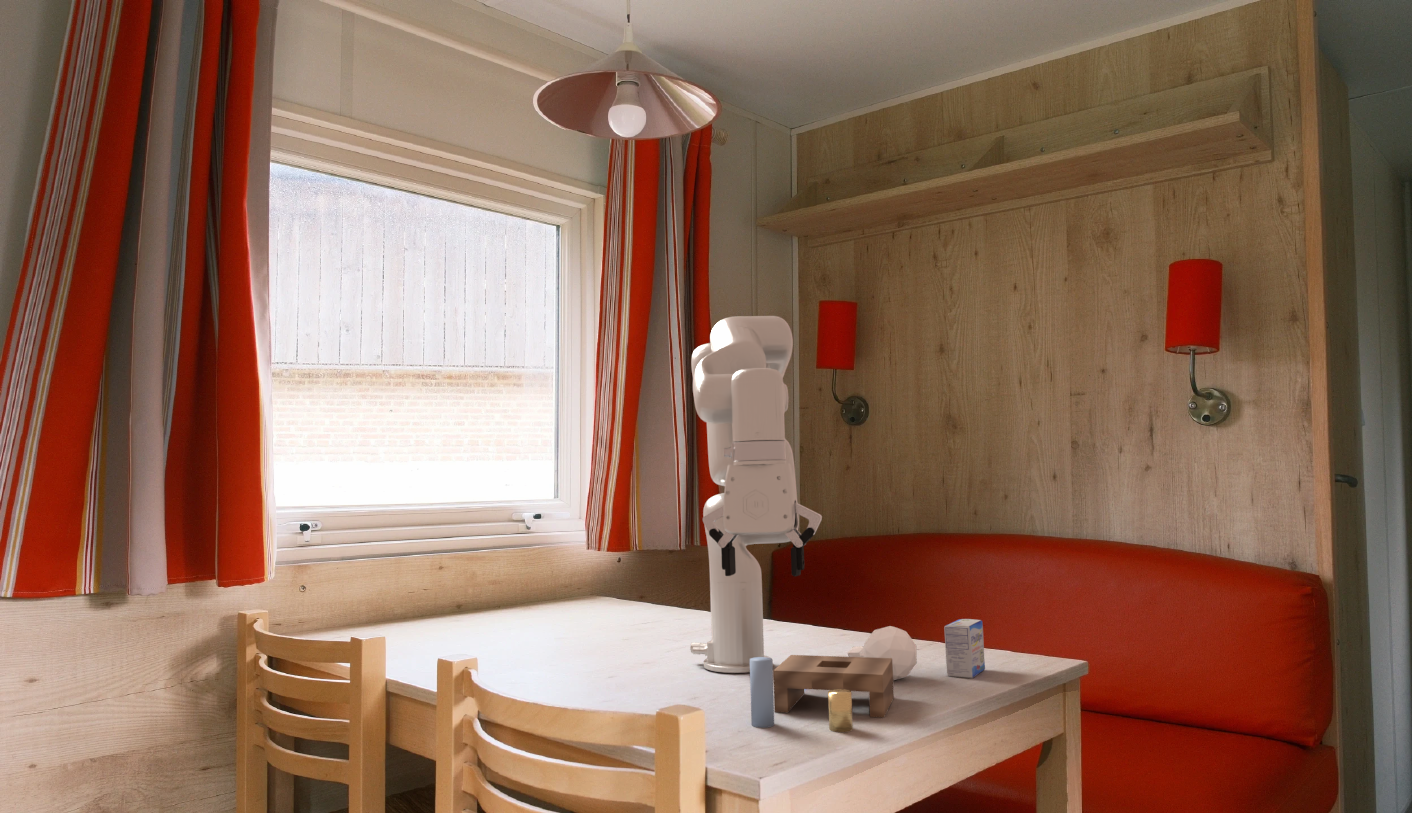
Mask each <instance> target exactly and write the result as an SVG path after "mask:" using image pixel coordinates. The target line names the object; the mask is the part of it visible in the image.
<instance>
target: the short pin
mask: <svg viewBox="0 0 1412 813" xmlns="http://www.w3.org/2000/svg"><path fill="white" fill-rule="evenodd" d="M852 695H853V694H852V691H850V690H845V689H834V690H827V696H828V697H827V703H828V706H827V708H828V728H829V731H830V732H834V733H848V732H852V731H853V729H854V727H853V726H854V725H853V720H854V719H853V700H852Z"/></svg>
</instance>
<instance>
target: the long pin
mask: <svg viewBox="0 0 1412 813" xmlns="http://www.w3.org/2000/svg"><path fill="white" fill-rule="evenodd" d="M772 660H773V658H772V657H770V658H769V656H768V657H755V658H751V659H750V672H749V685H750V686H749V687H750V718H751V719H750V721H751V723H750V724H751V726H752V727H754V728H760V729H762V728H771V727H774V726H775V709H774V677H773V670H774V667H773V666H774V664H773V665H772Z"/></svg>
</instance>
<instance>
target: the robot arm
mask: <svg viewBox="0 0 1412 813" xmlns="http://www.w3.org/2000/svg"><path fill="white" fill-rule="evenodd" d="M793 345H794V340H793V332H792V330H791V327H790V326H789V323H788V322H787V321H786V320H785V319H784V318H782V317H781V316H777V315H754V316H752V315H748V316H746V315H741V316H737V315H736V316H729V317H725V318H723V319H720V320H719V321H718V322H716V324H715V325H714V326H713V327H712V329H711V332H710V334H709V342H708V343H707V342H706V343H704V344H701V345H699V346H697V347H696V348H695V349H694V350H693V352H692V354H691V363H690V364H691V373H692V393H693V400H694V402H693V403H694V407H695V411H696V414H697V415H698V417H699V418H700V420H702V421H703V422H704V423H706V434H707V455H708V467H709V474H710V478H711V480H712V482H713V483H715V484H716V485H718V486H722V487H724V492H722V493H718V494H715V495H713V496H711V497H710V498H708V499H707V500H706V502H705V503H704V507H703V510H702V512H703V513H702V515H703V517H702V522H703V524H704V530H705V531H704V532H705V535H706V536H705V537H706V542H707V551H708V552H707V553H708V563H709V564H708V565H709V591H710V592H709V593H710V595H709V596H710V630H711V635H710V636H711V640H709V641H707V642H706V643H704V642H703V643H702V642H691V644H690V647H689V648H690V649H689V650H690V653H691V654H693V655H704V656H705V657H706V658H705V659H704V660H703V667H704V669H706V670H708V671H712V672H716V673H725V674H727V673H728V674H743V673H744V674H745V673H750V659H751V658H755V657H769V656H767V655H765V649H764V648H765V645H764V644H765V643H764V641H765V640H764V614H763V613H764V611H763V610H764V609H763V608H764V607H763V606H764V605H763V580H762V578H763V577H762V568H761V566H760V563H759V561H758V560H757V559H756V557H755V556H754V555H753V554H752V553H751V552H750V551H749V550H748V549H747V546H749V545H754V544H755V545H756V544H757V545H759V544H760V545H761V544H781V543H789V542H791V543H792V547H791V548H790V564H791V566H790V567H791V568H790V569H791V572H790V573H791V576H793V577H798V576H801V574H802V571H804V570H805V546H806V545H807V543H808V542H810V540H811V539H812V538H813V537H814V536H815V535H816V533H817V530H818V528H819V527H820V524H821V522H822V520H823V519H822V518H823V516H822V514H820V513H818V512H816V511H814V510H812V509H810V508H808V507H806V506H804V505H802V504H800V503H799V502H798V494H797V491H798V490H797V482H796V481H797V480H796V468H795V460H794V454H793V449H792V446H791V444H790V442H789V441H788V440H787V439H786V434H785V433H786V430H785V429H786V427H785V425H786V424H785V412H787V411H788V409H789V400H790V398H789V397H790V396H789V388H788V385H787V384H786V383H784V379H783V378H784V376H785V373H786V371H787V368H788V366H789V363H790V360H791V358H792V353H793V348H794V346H793ZM799 516H801V517H803V518H805V519H807V521H808V525H807V527H806V529H804V531H803V532H802V533H801V532H800V531H799V525H800V520H799V518H800V517H799ZM769 658H771V657H769ZM773 661H774V660H773V659H772V665H773V666H774V663H773Z"/></svg>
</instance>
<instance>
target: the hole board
mask: <svg viewBox="0 0 1412 813" xmlns="http://www.w3.org/2000/svg"><path fill="white" fill-rule="evenodd" d="M834 689H845V690H850V691H851V692H859V693H860V692H863V693H868V697H869V698H868V699H869V717H870V718H880V719H881V718H882V719H883V718H885V717H886V715H887V713H888V710H889V709H890V707H891V704H892V702H893V700H894V697H895V696H894V695H895V694H894V691H895V690H894V680H893V665H892V658H869V657H849V656H840V655H839V656H837V655H836V656H833V655H832V656H831V655H830V656H829V655H804V654H803V655H801V654H790V655H789V656H788V657H787V658H785V660H783V661H782V662H781V663H780V664H778V666H777V667H775V668H773V697H774V713H789V712H790V711H791V709H792V708H794V707H795V705H797V703H798V702H799V701H800V699H802V697H803V696H804V695H805V690H813V691H814V690H816V691H817V690H818V691H819V690H820V691H829V690H834Z"/></svg>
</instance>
